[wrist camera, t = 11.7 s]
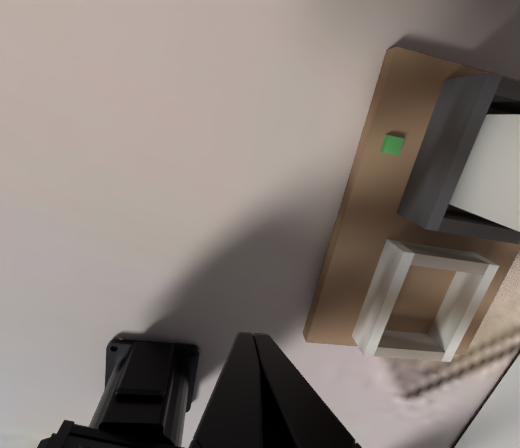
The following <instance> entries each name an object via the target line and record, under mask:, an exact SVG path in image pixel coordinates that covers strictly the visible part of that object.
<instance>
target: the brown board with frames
mask: <svg viewBox="0 0 520 448" xmlns="http://www.w3.org/2000/svg"><path fill="white" fill-rule="evenodd" d="M488 114H520V81H519V80H516V79H512V78H508V77H505V76H501V75H498V74H494V73H490V72H487V71H483V70H480V69H476V68H473V67H469V66H465V65H462V64H458V63H455V62H451V61H447V60H444V59H440V58H437V57H433V56H430V55H426V54H422V53H419V52H415V51H412V50H408V49H404V48H401V47H397V46H396V47H393V48H391V49H388V50H387V51H386V54H385V58H384V61H383V64H382V68H381V71H380V74H379V78H378V81H377V85H376V88H375V91H374V95H373V98H372V101H371V105H370V108H369V112H368V115H367V118H366V122H365V125H364V128H363V132H362V135H361V139H360V142H359V145H358V149H357V152H356V155H355V159H354V162H353V166H352V169H351V172H350V176H349V179H348V182H347V186H346V189H345V193H344V196H343V199H342V203H341V206H340V209H339V213H338V216H337V220H336V223H335V226H334V230H333V233H332V236H331V240H330V243H329V246H328V250H327V253H326V257H325V260H324V263H323V267H322V270H321V273H320V277H319V280H318V284H317V287H316V290H315V294H314V297H313V300H312V304H311V307H310V311H309V314H308V317H307V321H306V324H305V327H304V331H303V335H304V338H305V341H306V342H310V343H322V344H335V345H347V346H358V347H359V349H360V351H361V352H362V354H363V355H364V356H378V357H391V358H405V359H418V360H431V361H445V362H451V360H452V358H453V356H454V354H460V355H465V353H466V351H467V349H468V347H469V345H470V343H471V341H472V339H473V337H474V336H475V334H476V332H477V330H478V328H479V326H480V324H481V322H482V320H483V318H484V316H485V315H486V313H487V311H488V309H489V307H490V305H491V303H492V301H493V299H494V297H495V296H496V294H497V292H498V290H499V288H500V286H501V284H502V282H503V280H504V278H505V276H506V275H507V273H508V271H509V269H510V267H511V265H512V263H513V261H514V259H515V257H516V255H517V254H518V252H519V250H520V232H519V231H516V230H513V229H511V228H508V227H506V226H503V225H501V224H498V223H496V222H493V221H491V220H488V219H486V218H483V217H480V216H478V215H475V214H473V213H470V212H468V211H465V210H463V209H460V208H458V207H455V206H452V205H450V204H449V203H450V200H451V198H452V196H453V193H454V191H455V188H456V186H457V184H458V181H459V179H460V176H461V174H462V172H463V169H464V167H465V164H466V162H467V160H468V157H469V155H470V152H471V150H472V148H473V145H474V143H475V140H476V138H477V136H478V133H479V131H480V129H481V126H482V124H483V121H484V119H485V117H486V115H488Z"/></svg>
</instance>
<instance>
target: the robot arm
mask: <svg viewBox="0 0 520 448" xmlns="http://www.w3.org/2000/svg"><path fill="white" fill-rule="evenodd" d="M113 346H116V347H117V348H115V347H113ZM192 351H193V352H195V353H191V352H192ZM198 358H199V347H198V346H196V345H188V344H174V343H160V342H147V341H133V340H119V339H113V340H111V341H110V342H109V344H108V346H107V348H106V374H105V390H104V393H103V395H102V397H101V400H100V402H99V404H98V407H97V409H96V411H95V414H94V416H93V418H92V421H91V423H90V425H89V427H86V426H82V425H77V424H74V422H73V421H68V420H64V422H63V423H62V425H61V427H60V429H59V431H58V432H57V434H55V433H53V434H52V436H51V437H50V438H47V439H44V440H41V442H40V443H39V445H38V447H37V448H184V447H181V443H182V435H183V428H184V420H185V413H186V412H188V411H189V410H190V407H191V401H192V395H193V389H194V383H195V377H196V370H197V364H198ZM189 448H362V447H361V446H360V445H359V444H358V443H355V439H354V438H353V437H352V435H351V434H350V433H349V432H348V430H347V429H346V428H345V427H344V426H343V424H342V423H341V422H340V421H339V420H338V418H337V417H336V416H335V415H334V414H333V412H332V411H331V410H330V409H329V407H328V406H327V405H326V404H325V403H324V401H323V400H322V399H321V398H320V397H319V395H318V394H317V393H316V392H315V390H314V389H313V388H312V387H311V386H310V384H309V383H308V382H307V381H306V380H305V378H304V377H303V376H302V375H301V374H300V372H299V371H298V370H297V369H296V367H295V366H294V365H293V364H292V363H291V361H290V360H289V359H288V358H287V357H286V355H285V354H284V353H283V352H282V351H281V349H280V348H279V347H278V346H277V344H276V343H275V342H274V341H273V340H272V338H271V337H270V336H269V335H267V334H258V333H255V334H252V333H246V332H238V333H237V335H236V338H235V340H234V343H233V345H232V347H231V350H230V352H229V354H228V357H227V359H226V361H225V364H224V366H223V369H222V371H221V373H220V376H219V378H218V380H217V383H216V385H215V387H214V390H213V392H212V394H211V397H210V399H209V402H208V404H207V406H206V409H205V411H204V413H203V416H202V418H201V420H200V423H199V425H198V428H197V430H196V432H195V435H194V437H193V440H192V441H191V443H190V446H189Z"/></svg>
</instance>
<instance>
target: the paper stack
mask: <svg viewBox="0 0 520 448" xmlns="http://www.w3.org/2000/svg"><path fill="white" fill-rule="evenodd" d="M454 448H520V354H519V356H518V357H517V359H516V360H515V361H514V363H513V364H512V366H511V367H510V368H509V370H508V371H507V373H506V374H505V376H504V377H503V378H502V380H501V381H500V383H499V384H498V386H497V387H496V388H495V390H494V391H493V393H492V394H491V396H490V397H489V398H488V400H487V401H486V403H485V404H484V406H483V407H482V408H481V410H480V411H479V413H478V414H477V416H476V417H475V418H474V420H473V421H472V423H471V424H470V426H469V427H468V428H467V430H466V431H465V433H464V434H463V436H462V437H461V438H460V440H459V441H458V443H457V444H456V446H455V447H454Z"/></svg>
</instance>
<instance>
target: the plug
mask: <svg viewBox="0 0 520 448" xmlns="http://www.w3.org/2000/svg"><path fill="white" fill-rule="evenodd" d="M449 204H450V205H452V206H455V207H458V208H460V209H463V210H465V211H468V212H470V213H473V214H475V215H478V216H480V217H483V218H486V219H488V220H491V221H493V222H496V223H498V224H501V225H503V226H506V227H508V228H511V229H513V230H516V231H519V232H520V114H488V115H486V117H485V119H484V121H483V124H482V126H481V129H480V131H479V133H478V136H477V138H476V140H475V143H474V145H473V148H472V150H471V152H470V155H469V157H468V160H467V162H466V164H465V167H464V169H463V172H462V174H461V176H460V179H459V181H458V184H457V186H456V188H455V191H454V193H453V196H452V198H451V200H450V203H449Z"/></svg>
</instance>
